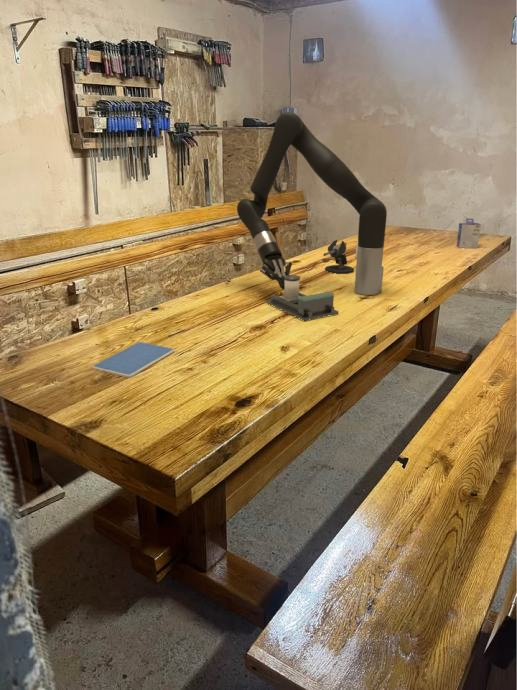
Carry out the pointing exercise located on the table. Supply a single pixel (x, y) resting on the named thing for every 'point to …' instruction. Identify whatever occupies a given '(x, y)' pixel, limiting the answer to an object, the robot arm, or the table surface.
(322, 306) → the knob mount
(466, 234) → the ink cartridge box
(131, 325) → the table surface
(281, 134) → the robot arm
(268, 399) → the table surface
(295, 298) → the knob carriage
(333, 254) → the gun turret
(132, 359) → the tablet computer
